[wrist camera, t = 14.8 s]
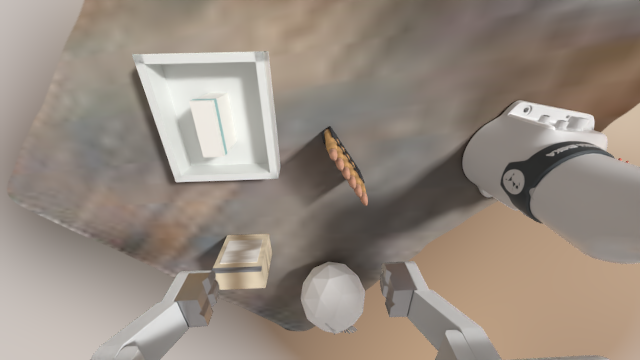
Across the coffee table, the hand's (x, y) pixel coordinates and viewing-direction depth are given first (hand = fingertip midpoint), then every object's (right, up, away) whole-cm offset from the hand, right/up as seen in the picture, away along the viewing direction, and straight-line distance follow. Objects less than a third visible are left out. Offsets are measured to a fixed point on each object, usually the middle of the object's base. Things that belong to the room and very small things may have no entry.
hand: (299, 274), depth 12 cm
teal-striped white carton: (-15, +15, +28) cm, 35 cm away
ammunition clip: (+5, +10, +33) cm, 35 cm away
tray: (-15, +15, +29) cm, 36 cm away
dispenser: (-15, -10, +42) cm, 46 cm away
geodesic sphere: (+4, -18, +47) cm, 51 cm away
